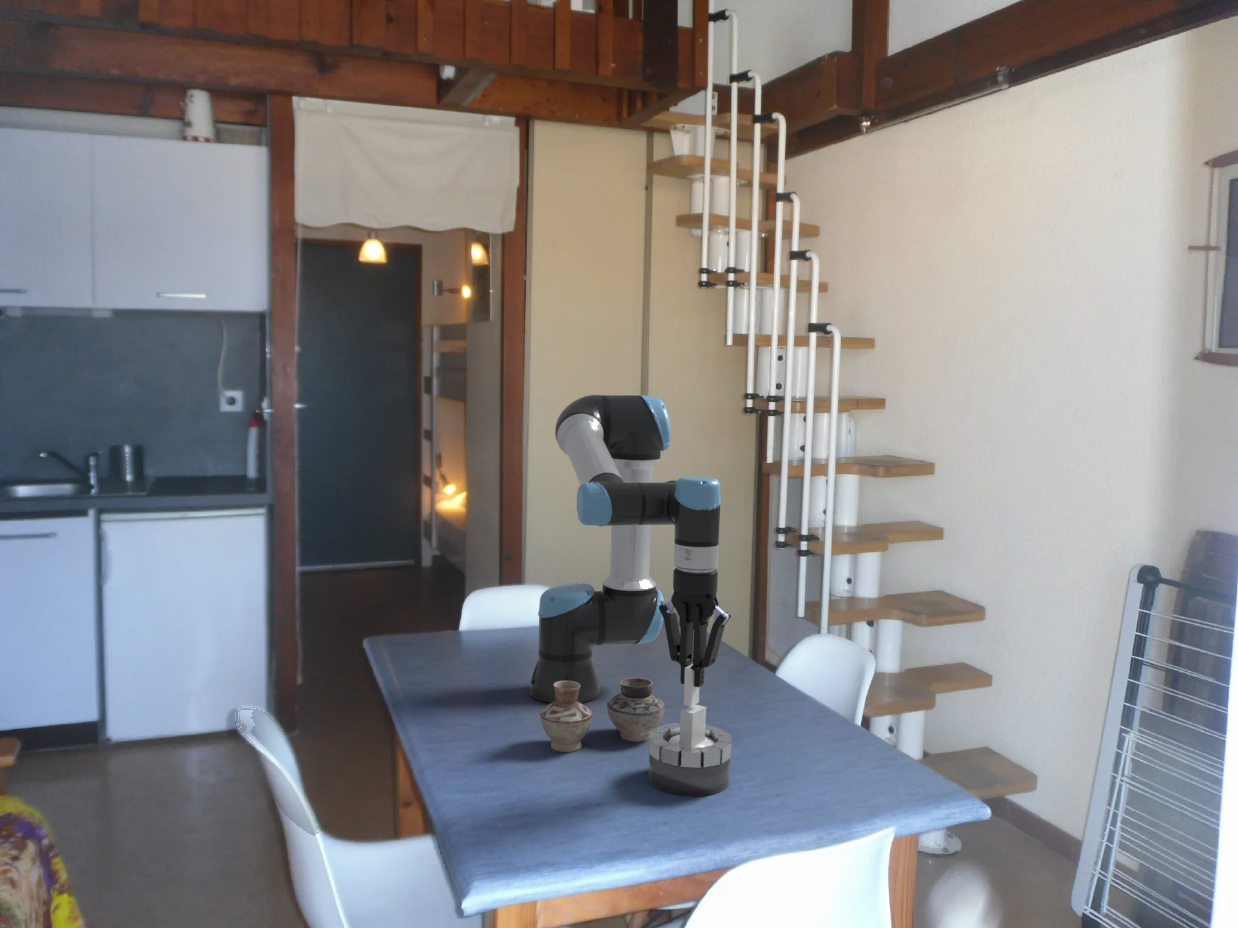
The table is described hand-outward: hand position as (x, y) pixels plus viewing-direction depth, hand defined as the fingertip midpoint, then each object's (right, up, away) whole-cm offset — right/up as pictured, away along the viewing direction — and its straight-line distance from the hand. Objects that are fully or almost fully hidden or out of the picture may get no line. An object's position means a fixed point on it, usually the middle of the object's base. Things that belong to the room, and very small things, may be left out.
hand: (691, 703), depth 172 cm
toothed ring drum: (0, -13, +1) cm, 13 cm away
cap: (0, -8, +1) cm, 8 cm away
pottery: (-15, -12, +18) cm, 27 cm away
